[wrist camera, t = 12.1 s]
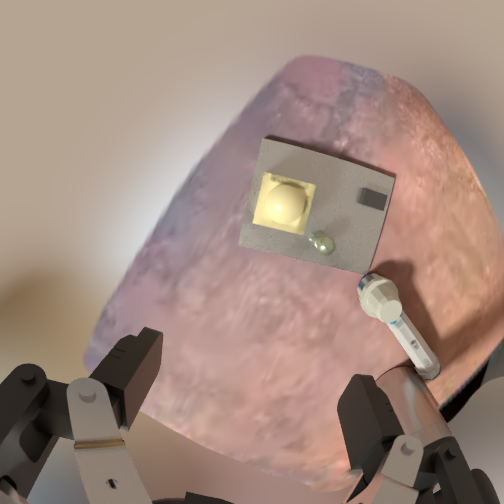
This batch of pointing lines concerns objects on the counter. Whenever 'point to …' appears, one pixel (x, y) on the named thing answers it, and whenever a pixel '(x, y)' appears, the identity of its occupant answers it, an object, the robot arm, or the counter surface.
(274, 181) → the cube with dome bump
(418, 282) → the counter surface
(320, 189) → the plate
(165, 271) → the counter surface
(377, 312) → the white handheld device
